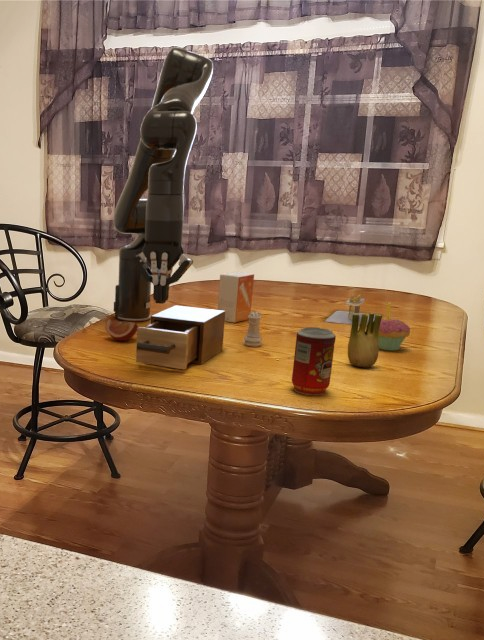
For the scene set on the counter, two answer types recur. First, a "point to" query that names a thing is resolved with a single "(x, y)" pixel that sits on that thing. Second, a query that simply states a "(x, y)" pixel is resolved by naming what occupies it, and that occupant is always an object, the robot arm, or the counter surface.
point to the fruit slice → (121, 329)
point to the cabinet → (209, 327)
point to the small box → (235, 295)
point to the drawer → (168, 344)
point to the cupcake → (392, 332)
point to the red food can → (313, 360)
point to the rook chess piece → (253, 331)
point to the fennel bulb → (364, 340)
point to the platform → (347, 316)
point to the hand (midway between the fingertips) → (160, 302)
